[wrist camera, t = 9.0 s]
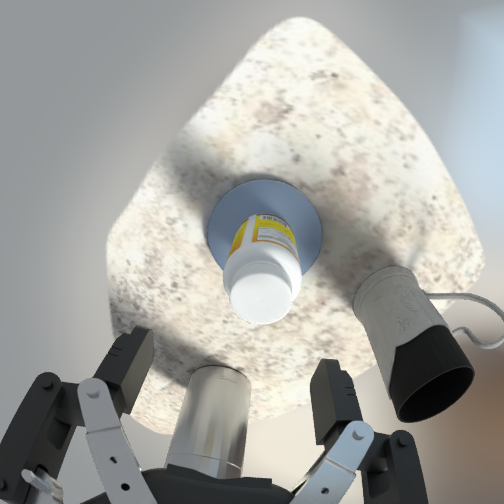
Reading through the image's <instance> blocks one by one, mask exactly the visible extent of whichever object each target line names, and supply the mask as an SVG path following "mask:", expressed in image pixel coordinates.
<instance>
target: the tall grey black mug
mask: <svg viewBox="0 0 504 504" xmlns="http://www.w3.org/2000/svg"><path fill="white" fill-rule="evenodd" d="M429 299H464V300H471V301H475V302H478V303H481V304H483V305H486V306H488V307H489V308H491V309H492V310H494V311H495V312H496V313H497V314H498V315H499V316H500V317H501V318H502V320H503V321H504V312H503V311H502V310H501V309H500V308H499V307H498V306H496V304H494V303H492V302H490V301H489V300H488V299H485V298H483V297H480V296H477V295H474V294H469V293H426V292H425V291H424V290H421V288H420V287H419V285H418V281H417V278H416V277H415V275H414V274H413V273H412V272H411V271H410V270H408V269H407V268H404V267H400V266H391V267H386V268H383V269H381V270H378V271H376V272H375V273H373V274H372V275H370V276H369V277H368V278H367V279H366V280H365V281H364V282H363V283H362V284H361V286H360V287H359V289H358V291H357V293H356V295H355V298H354V304H353V308H354V313H355V316H356V317H357V319H358V320H359V321H360V322H361V323H362V324H363V326H364V328H365V331H366V333H367V336H368V339H369V341H370V344H371V347H372V349H373V352H374V355H375V358H376V360H377V363H378V366H379V369H380V372H381V375H382V377H383V381H384V383H385V387H386V390H387V393H388V396H389V399H390V400H391V399H392V402H393V405H394V408H395V411H396V415H397V418H398V419H399V420H400V421H401V422H404V423H413V422H419V421H422V420H425V419H428V418H431V417H433V416H435V415H437V414H439V413H441V412H442V411H444V410H446V409H447V408H448V407H450V406H451V405H452V404H454V403H455V402H456V401H457V400H458V399H459V398H461V396H462V395H463V394H464V393H465V392H466V390H468V388H469V387H470V385H471V383H472V381H473V379H474V376H475V371H474V369H473V367H472V366H471V364H470V362H469V360H468V359H467V357H466V356H465V354H464V352H463V351H462V349H461V348H460V346H459V345H458V343H457V341H456V340H455V338H454V336H456V335H457V334H460V333H465V334H467V335H468V337H469V338H470V339H471V340H472V342H474V344H475V345H477V346H479V347H480V348H484V349H493V348H495V347H497V346H499V345H500V344H501V343H502V342H503V341H504V335H503V336H502V337H501V338H500V339H499V340H497V341H495V342H483V341H481V340H479V339H478V338H477V337H476V336H475V335H474V334H473V333H472V332H471V331H470V330H469V329H468V328H466V327H459V328H457V329H455V330H453V331H451V329H450V328H449V326H448V325H447V323H446V322H445V321H444V320H443V318H442V316H441V315H440V314H439V312H438V311H437V309H436V308H435V307H434V305H433V304H432V303H431V301H430V300H429Z"/></svg>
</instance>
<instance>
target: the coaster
mask: <svg viewBox="0 0 504 504" xmlns="http://www.w3.org/2000/svg"><path fill="white" fill-rule="evenodd" d="M259 213H271V214H275V215H277V216H279V217H281V218H282V219H284V220H285V221H286V222H287V223H288V224H289V226H290V227H291V229H292V231H293V234H294V238H295V243H296V248H297V252H298V257H299V262H300V267H301V272H302V275H303V274H305V273H306V272H307V270H308V269H309V268H310V267H311V266H312V265H313V263H314V261H315V260H316V258H317V256H318V253H319V251H320V247H321V242H322V228H321V223H320V219H319V216H318V214H317V212H316V210H315V208H314V206H313V205H312V203H311V202H310V201H309V199H308V198H307V197H306V196H305V195H304V194H303V193H302V192H300V191H299V190H298V189H296V188H295V187H293V186H291V185H289V184H287V183H284V182H281V181H277V180H271V179H259V180H252V181H248V182H245V183H243V184H240V185H238V186H236V187H235V188H233V189H232V190H230V191H229V192H228V193H227V194H226V195H225V196H224V197H223V198H222V199H221V200H220V201H219V203H218V204H217V205H216V207H215V209H214V210H213V212H212V215H211V217H210V220H209V225H208V243H209V247H210V250H211V253H212V255H213V257H214V259H215V261H216V262H217V264H218V265H219V266H220V268H221V269H222V270H223V271H224V267H225V264H226V261H227V258H228V255H229V252H230V250H231V247H232V244H233V241H234V238H235V235H236V232H237V230H238V228H239V226H240V225H241V224H242V222H243V221H244V220H246V219H247V218H248V217H250V216H252V215H255V214H259Z"/></svg>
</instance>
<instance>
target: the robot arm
mask: <svg viewBox="0 0 504 504" xmlns="http://www.w3.org/2000/svg"><path fill="white" fill-rule="evenodd" d="M153 357H154V346H153V332H152V329H149V328H145V327H141V326H138V325H137V326H135V328H134V329H133V331H132V333H131V334H127V333H124V334H122V335H121V336H119V337H118V338H117V339H116V340H115V342H114V343H113V345H112V348H110V350H109V352H108V354H107V355H106V356H105V358H104V360H103V361H102V363H101V364H100V366H99V368H98V369H97V371H96V373H95V374H94V376H93V377H92V378H89V379H86V380H84V381H82V382H81V383H80V384H75V383H66V382H61V380H60V378H59V377H58V376H57V375H55V374H54V373H51V372H45V373H42V374H40V375H39V376H38V377H37V378H36V379H35V381H34V382H33V384H32V386H31V387H30V389H29V391H28V392H27V394H26V396H25V398H24V399H23V401H22V403H21V405H20V406H19V408H18V410H17V412H16V414H15V415H14V417H13V419H12V421H11V423H10V425H9V427H8V429H7V431H6V433H5V435H4V437H3V439H2V441H1V444H0V499H1V500H3V501H5V502H7V503H8V504H63V490H62V487H61V485H60V484H59V483H58V481H57V480H56V479H57V477H58V474H59V471H60V468H61V465H62V463H63V460H64V457H65V454H66V452H67V449H68V446H69V444H70V441H71V439H72V436H73V434H74V432H75V429H76V427H77V426H83V427H86V430H87V433H86V438H87V442H88V445H89V448H90V452H91V454H92V457H93V460H94V463H95V466H96V469H97V471H98V474H99V476H100V479H101V481H102V484H103V486H104V489H105V491H106V492H104V493H102V494H100V495H98V496H96V497H94V498H91V499H89V500H87V501H85V502H83V503H80V504H338V503H339V502H340V501H341V499H342V498H343V496H344V495H345V493H346V492H347V490H348V489H349V487H350V486H351V484H352V482H353V481H354V479H355V477H356V474H355V471H356V470H360V471H361V476H362V486H363V497H364V504H428V499H427V493H426V488H425V483H424V478H423V473H422V469H421V465H420V460H419V456H418V453H417V448H416V445H415V441H414V438H413V436H412V435H411V434H410V433H409V432H407V431H405V430H397V431H395V432H393V433H392V434H391V435H387V434H382V433H377V432H374V431H373V429H372V428H371V426H370V425H368V424H367V423H365V422H364V421H363V418H362V414H361V410H360V407H359V403H358V399H357V396H356V392H355V389H354V384H353V381H352V378H351V377H350V375H349V374H348V373H347V371H344V370H341V369H340V365H339V362H338V360H335V359H321V361H320V362H319V365H318V367H317V369H316V371H315V373H314V375H313V377H312V379H311V382H310V395H311V403H312V410H313V419H314V428H315V437H316V445H324V447H325V450H324V451H323V453H322V454H321V455H320V457H319V458H318V459H317V461H316V462H315V463H314V464H313V466H312V467H311V468H310V469H309V471H308V472H307V473H306V474H305V476H304V477H303V478H302V479H301V480H300V481H299V482H298V483H297V484H296V485H295V486H294V487H293V488H292V489H291V490H290V491H288V490H286V489H284V488H282V487H280V486H277V485H275V484H272V479H269V478H254V477H242V470H243V461H244V451H245V443H246V434H247V425H248V415H249V406H250V396H251V384H250V382H249V381H248V379H247V378H246V377H245V376H244V375H242V374H241V373H239V372H237V371H235V370H232V369H229V368H226V367H220V366H207V367H202V368H199V369H197V370H196V371H194V372H193V373H192V375H191V378H190V381H189V384H188V388H187V391H186V394H185V397H184V400H183V404H182V407H181V410H180V413H179V417H178V420H177V423H176V427H175V430H174V434H173V437H172V441H171V444H170V447H169V451H168V454H167V458H166V462H165V465H164V468H155V469H150V470H146V471H142V469H141V467H140V465H139V463H138V461H137V459H136V457H135V455H134V453H133V451H132V449H131V446H130V444H129V441H128V439H127V437H126V434H125V432H124V429H123V427H122V424H121V421H120V418H121V415H122V413H126V414H129V415H130V413H131V411H132V408H133V406H134V404H135V401H136V399H137V396H138V394H139V392H140V389H141V387H142V385H143V382H144V380H145V378H146V375H147V373H148V371H149V368H150V366H151V364H152V361H153Z"/></svg>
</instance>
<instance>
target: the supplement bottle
mask: <svg viewBox="0 0 504 504" xmlns="http://www.w3.org/2000/svg"><path fill="white" fill-rule="evenodd" d="M301 283H302V272H301V267H300V262H299V257H298V252H297V248H296V243H295V238H294V234H293V231H292V229H291V227H290V226H289V224H288V223H287V222H286V221H285V220H284V219H282V218H281V217H279V216H277V215H275V214H271V213H259V214H255V215H252V216H250V217H248V218H247V219H246V220H244V221H243V222H242V224H241V225H240V226H239V228H238V230H237V232H236V235H235V238H234V241H233V244H232V247H231V250H230V252H229V255H228V258H227V261H226V264H225V267H224V271H223V284H224V287H225V290H226V292H227V294H228V296H229V300H230V304H231V307H232V309H233V310H234V312H235V313H236V314H237V315H238V316H239V317H240V318H242V319H243V320H245V321H248V322H250V323H254V324H269V323H273V322H276V321H278V320H280V319H281V318H283V317H284V316H285V315H286V314H287V313H288V311H289V310H290V308H291V305H292V301H293V300H294V299H295V297H296V296H297V294H298V292H299V290H300V287H301Z"/></svg>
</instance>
